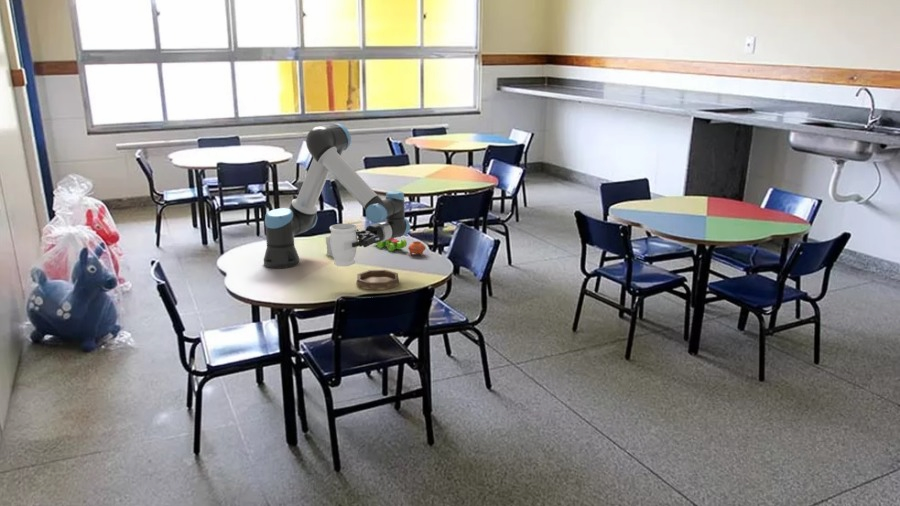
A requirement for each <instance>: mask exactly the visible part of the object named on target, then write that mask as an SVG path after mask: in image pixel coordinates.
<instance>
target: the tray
mask: <svg viewBox="0 0 900 506" xmlns="http://www.w3.org/2000/svg"><path fill="white" fill-rule="evenodd" d="M356 276H357V277H356V283H355V284H356V286H357V287H359V288H361V289H363V290H367V291H386V290H390V289H393V288H396V287H397V286H399V284H400V279H399V278H400V277H399V273H398V272H396V271H391V270H388V269H369V270H365V271H362V272H359V273H357V274H356Z"/></svg>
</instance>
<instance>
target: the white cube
mask: <svg viewBox="0 0 900 506" xmlns="http://www.w3.org/2000/svg"><path fill="white" fill-rule="evenodd" d="M326 254H328V256H330V257H332V258H334V257H333V255H332V250H331V245H330V244H326Z"/></svg>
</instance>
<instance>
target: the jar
mask: <svg viewBox="0 0 900 506" xmlns="http://www.w3.org/2000/svg"><path fill="white" fill-rule="evenodd" d="M356 229H357V225H355V224H352V223H337V224H332V225H330V226H329V231H330V245H331V250H332V255H333V257H332V258H333V259H334V261H333V264H334V265H335V266H337V267H349V266H353V265H355V264H356V260H355V258H356V254H357V249H358V247H355V248H351V249H347V250H344V243H345V242H349V241H353V240H357V238H358V236H357V235H356V232H355V230H356Z"/></svg>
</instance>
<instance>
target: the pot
mask: <svg viewBox="0 0 900 506" xmlns="http://www.w3.org/2000/svg"><path fill="white" fill-rule="evenodd" d="M407 249H408V251H409V254H410V255H409V256H412V255H413V254H414V255H418V254H420V256H421V257H422V256H423V253H424V251H426V246H425V244H424V243H422V242H421V241H419V240H418V241H413V242H412V243H410V244H409V246H408V247H407Z"/></svg>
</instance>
